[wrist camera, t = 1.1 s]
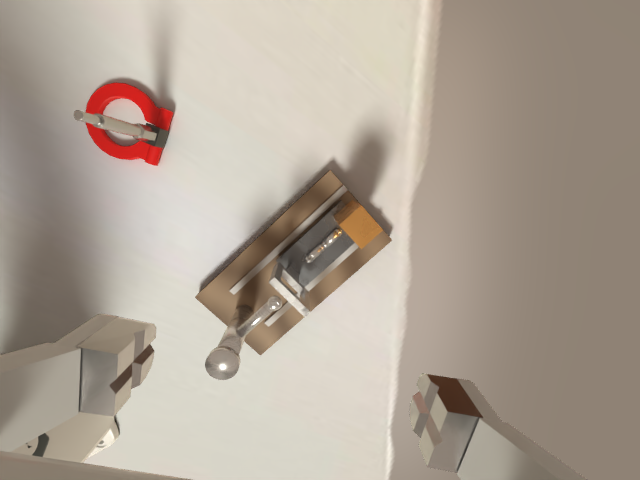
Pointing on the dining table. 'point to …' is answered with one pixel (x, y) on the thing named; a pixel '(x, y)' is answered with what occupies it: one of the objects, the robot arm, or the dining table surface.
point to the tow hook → (127, 124)
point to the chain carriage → (321, 250)
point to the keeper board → (260, 257)
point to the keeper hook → (237, 338)
